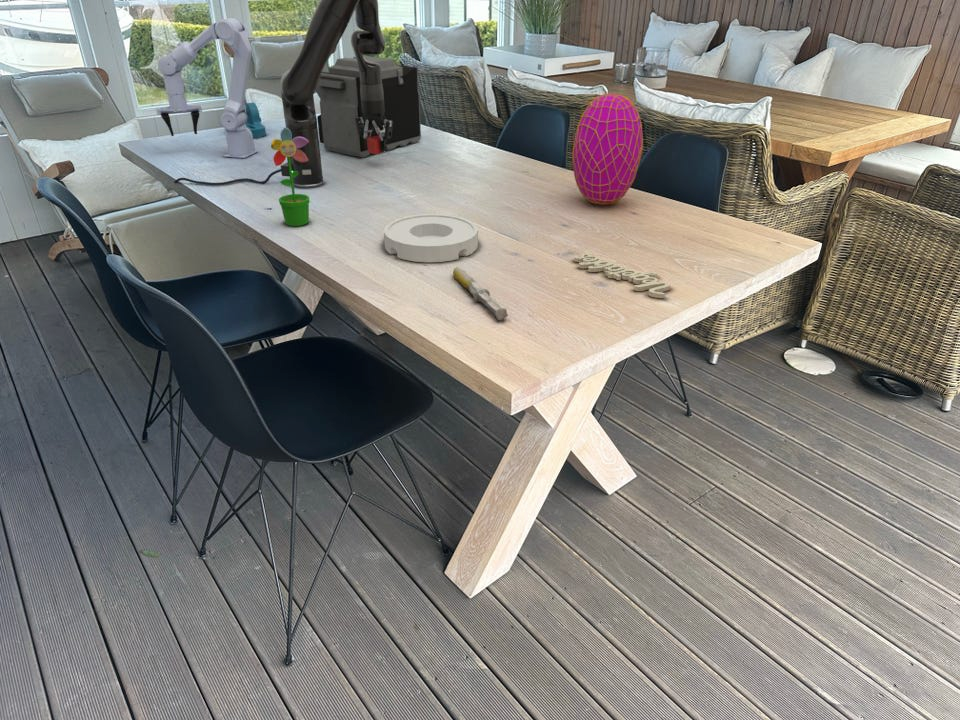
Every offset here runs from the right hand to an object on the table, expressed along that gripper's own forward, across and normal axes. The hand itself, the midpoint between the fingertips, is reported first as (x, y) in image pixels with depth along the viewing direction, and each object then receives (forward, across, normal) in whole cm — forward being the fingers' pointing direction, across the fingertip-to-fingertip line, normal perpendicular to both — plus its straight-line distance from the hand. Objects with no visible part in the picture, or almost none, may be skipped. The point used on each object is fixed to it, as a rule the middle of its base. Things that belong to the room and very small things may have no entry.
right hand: (376, 150), depth 232 cm
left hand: (-2, +67, +21) cm, 70 cm away
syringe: (+5, -79, +77) cm, 110 cm away
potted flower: (+5, -16, +59) cm, 61 cm away
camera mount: (+5, +71, -14) cm, 73 cm away
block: (+1, 0, 0) cm, 1 cm away
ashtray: (+5, -55, +56) cm, 78 cm away
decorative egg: (+6, -81, +2) cm, 81 cm away
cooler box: (+5, +18, -21) cm, 28 cm away
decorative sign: (+5, -103, +51) cm, 115 cm away
